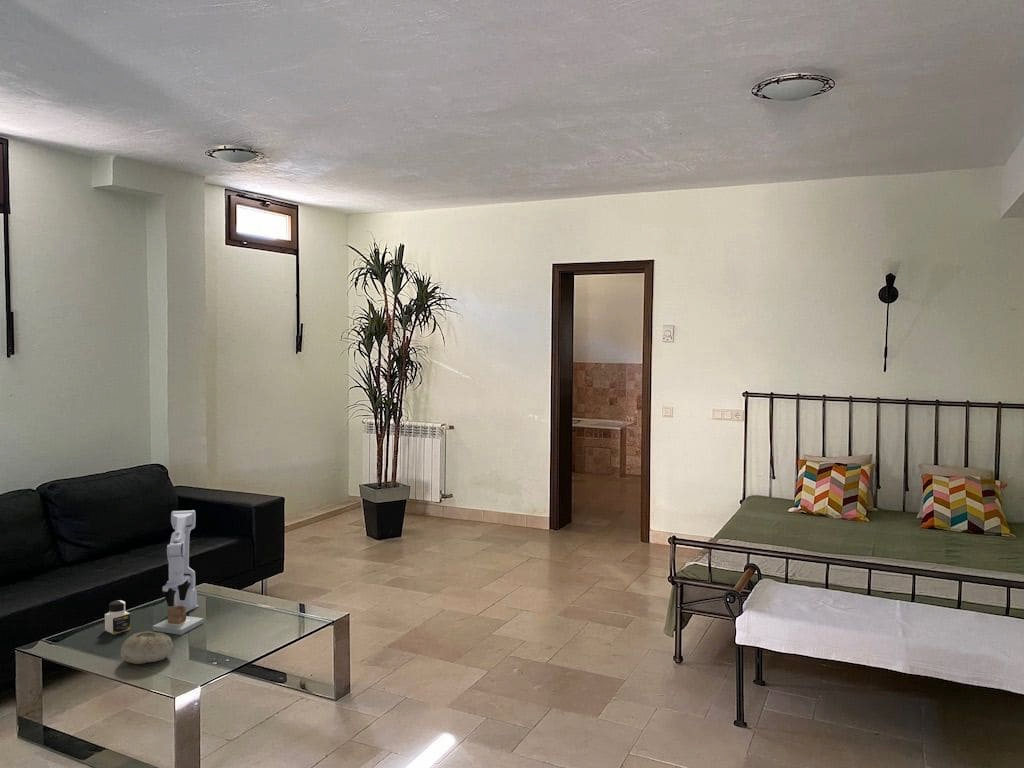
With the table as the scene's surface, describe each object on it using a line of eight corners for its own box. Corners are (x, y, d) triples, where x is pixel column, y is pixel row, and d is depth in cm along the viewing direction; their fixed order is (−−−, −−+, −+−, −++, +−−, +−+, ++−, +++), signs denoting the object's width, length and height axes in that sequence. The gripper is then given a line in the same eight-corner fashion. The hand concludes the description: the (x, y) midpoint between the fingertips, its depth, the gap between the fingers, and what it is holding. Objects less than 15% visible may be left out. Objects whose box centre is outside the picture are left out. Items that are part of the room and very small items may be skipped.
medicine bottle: (113, 634, 322) (112, 606, 321) (104, 630, 326) (104, 602, 326) (130, 629, 328) (130, 601, 327) (121, 625, 332) (121, 597, 331)
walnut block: (175, 619, 335) (175, 605, 334) (186, 620, 334) (185, 606, 333) (167, 623, 330) (167, 609, 329) (178, 624, 329) (178, 610, 328)
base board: (175, 619, 340) (175, 614, 340) (203, 622, 337) (203, 618, 336) (152, 630, 327) (152, 625, 327) (181, 634, 323) (181, 629, 323)
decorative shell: (168, 647, 310) (168, 622, 309) (177, 663, 295) (176, 637, 294) (118, 657, 300) (117, 631, 300) (124, 674, 285) (123, 647, 285)
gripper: (179, 565, 339) (179, 596, 340) (156, 575, 325) (156, 607, 326) (193, 567, 337) (193, 598, 338) (170, 577, 323) (171, 609, 324)
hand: (176, 603), depth 332 cm, fingers open, 7 cm apart
